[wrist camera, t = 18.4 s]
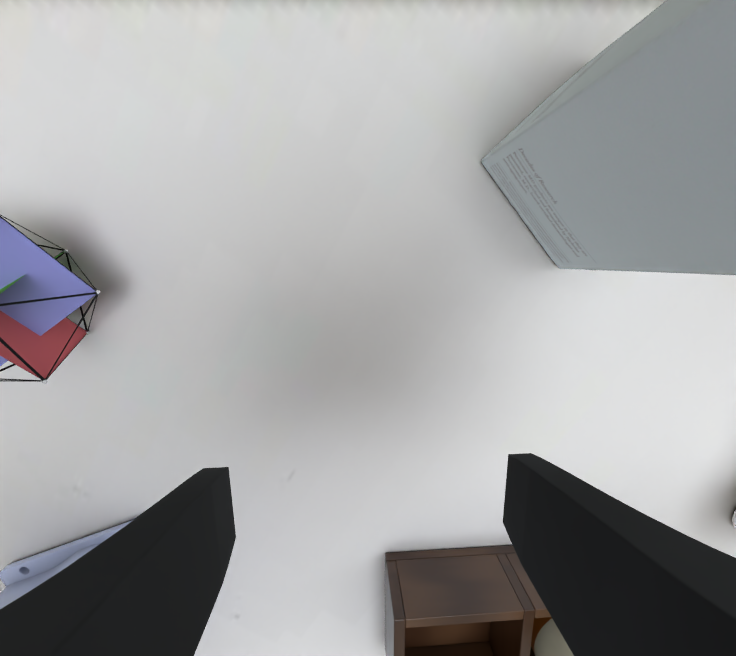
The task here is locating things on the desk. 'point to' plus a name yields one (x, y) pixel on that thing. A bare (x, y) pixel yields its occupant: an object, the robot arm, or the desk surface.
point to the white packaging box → (636, 150)
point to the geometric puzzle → (37, 304)
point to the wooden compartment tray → (459, 603)
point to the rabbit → (734, 519)
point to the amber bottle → (548, 639)
